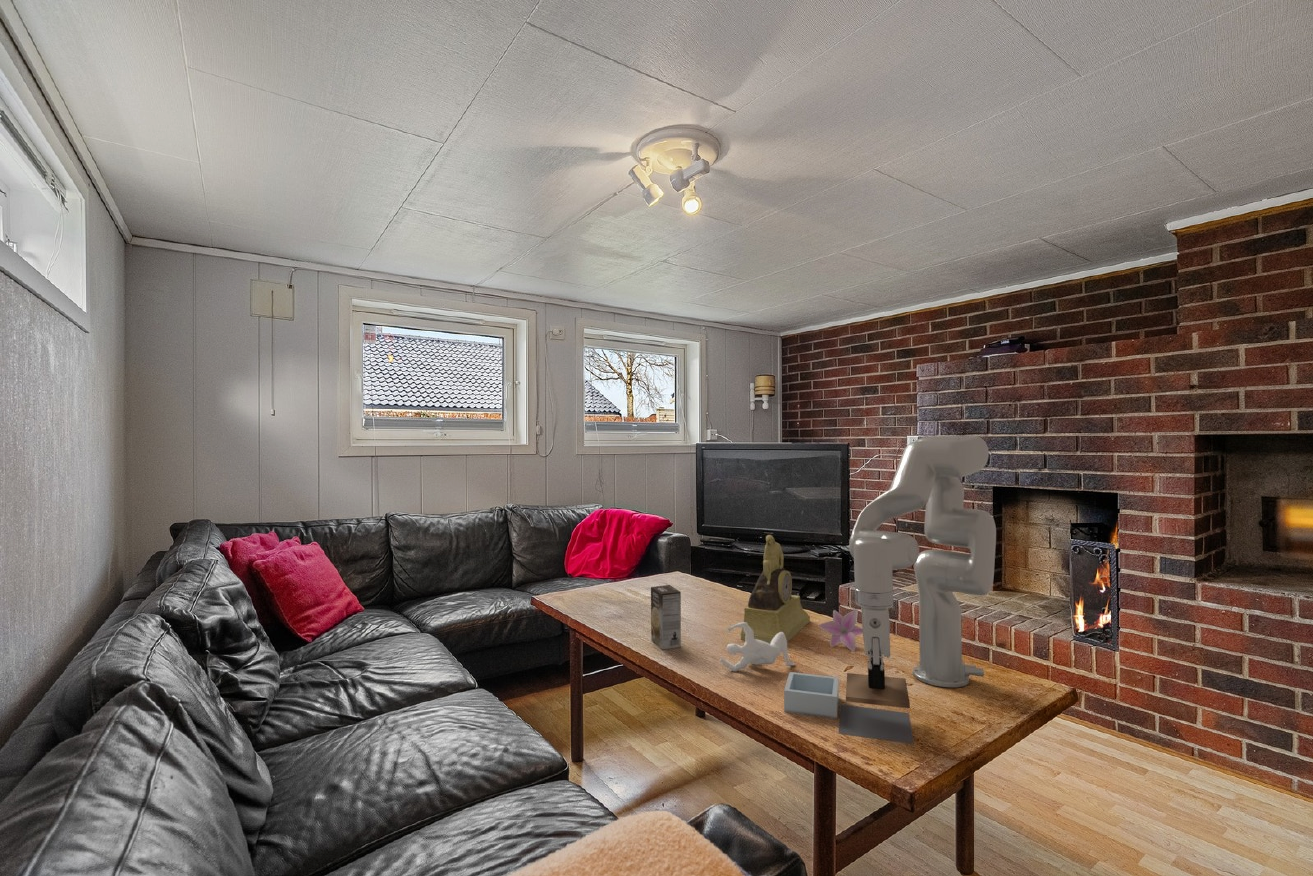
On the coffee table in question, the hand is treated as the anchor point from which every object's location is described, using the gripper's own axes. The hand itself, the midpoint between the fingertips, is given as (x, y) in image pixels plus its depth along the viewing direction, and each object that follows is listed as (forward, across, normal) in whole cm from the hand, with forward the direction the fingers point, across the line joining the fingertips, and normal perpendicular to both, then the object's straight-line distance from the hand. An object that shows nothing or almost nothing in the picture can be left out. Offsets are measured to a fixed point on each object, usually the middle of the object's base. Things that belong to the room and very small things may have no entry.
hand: (876, 683), depth 126 cm
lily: (+10, +48, +8) cm, 50 cm away
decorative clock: (+10, +56, +28) cm, 64 cm away
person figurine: (+9, +22, +29) cm, 37 cm away
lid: (+2, 0, 0) cm, 2 cm away
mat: (+8, -1, +1) cm, 8 cm away
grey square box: (+8, +4, +14) cm, 16 cm away
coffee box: (+9, +34, +58) cm, 67 cm away
